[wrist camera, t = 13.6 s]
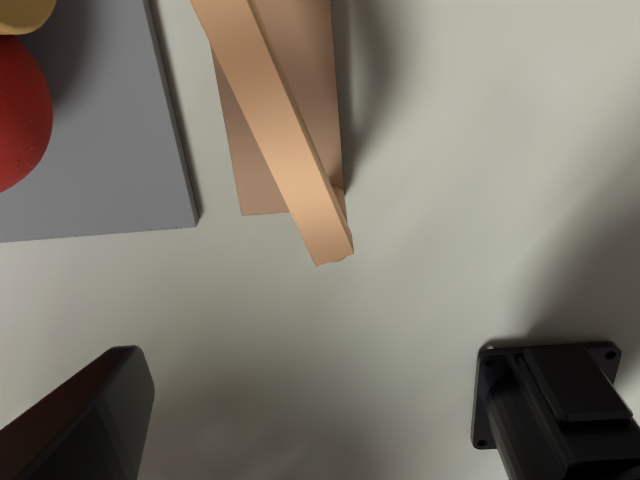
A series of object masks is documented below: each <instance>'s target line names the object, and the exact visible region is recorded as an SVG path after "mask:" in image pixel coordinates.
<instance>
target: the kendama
mask: <svg viewBox="0 0 640 480" xmlns="http://www.w3.org/2000/svg"><path fill="white" fill-rule="evenodd" d="M56 1H57V0H0V193H1V192H3V191H5V190H7V189H9V188H11V187H12V186H14V185H15V184H17V183H18V182H20V181H21V180H22V179H23V178H25V177H26V176H27V175H28V174H29V173H30V172H31V171H32V170H33V169H34V168H35V167H36V166H37V165H38V163H39V162H40V161H41V159H42V157H43V155H44V153H45V151H46V149H47V146H48V144H49V141H50V137H51V133H52V126H53V106H52V100H51V95H50V91H49V88H48V84H47V82H46V79H45V77H44V75H43V73H42V71H41V69H40V67H39V65H38V64H37V62H36V60H35V59H34V58H33V56H32V55H31V53H30V52H29V51H28V50H27V48H26V47H25V46H24V45H23V44H22V43H21V42H20V40H19V39H18V38H17V37H16V36H15V35H19V34H26V33H30V32H33V31H35V30H36V29H37V28H39V27H41V26H42V24H44V22H46V20H47V19H48V18H49V17H50V15H51V14H52V11H53V9H54V7H55V4H56Z"/></svg>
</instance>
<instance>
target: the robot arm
mask: <svg viewBox="0 0 640 480" xmlns="http://www.w3.org/2000/svg"><path fill="white" fill-rule="evenodd" d="M607 352H609V353H607ZM620 358H621V350H620V349H619V348H618V346H617V345H616V344H615V343H614V342H610V341H605V342H590V343H575V344H560V345H545V346H530V347H515V348H500V349H487V350H484V351H482V352H480V353H479V354H478V357H477V365H476V377H475V389H474V401H473V413H472V425H471V441H472V444H473V446H474V448H476V449H481V450H482V449H498V452H499V455H500V457H501V460H502V463H503V465H504V468H505V471H506V473H507V476H508V479H509V480H640V426H639V425H638V424H637V422H636V421H635V419H634V418H633V413H632V411H631V410H630V408H629V407H628V405H627V404H626V403H625V401H624V400H623V399H622V397H621V396H620V394H619V393H618V392H617V390H616V389H615V387H614V386H613V384H614V381H615V377H616V373H617V369H618V365H619V362H620ZM489 359H492V360H490V361H487V360H489ZM154 394H155V390H154V383H153V380H152V377H151V374H150V371H149V368H148V365H147V362H146V359H145V356H144V353H143V351H142V349H141V348H140V347H139V346H136V345H129V346H116V347H112V348H110V349H109V350H107V351H106V352H104V353H103V354H102V355H100V356H99V357H98V358H96V359H95V360H94V361H92V362H91V363H90V364H88V365H87V366H86V367H84V368H83V369H82V370H80V371H79V372H78V373H76V374H75V375H74V376H72V377H71V378H70V379H68V380H67V381H66V382H64V383H63V384H62V385H60V386H59V387H58V388H56V389H55V390H53V391H52V392H51V393H49V394H48V395H47V396H45V397H44V398H43V399H41V400H40V401H39V402H37V403H36V404H35V405H33V406H32V407H31V408H29V409H28V410H27V411H25V412H24V413H23V414H21V415H20V416H19V417H17V418H16V419H15V420H13V421H12V422H11V423H9V424H8V425H7V426H5V427H4V428H3V429H1V430H0V480H137V477H138V472H139V467H140V463H141V458H142V453H143V449H144V444H145V439H146V434H147V430H148V425H149V420H150V415H151V411H152V406H153V401H154Z"/></svg>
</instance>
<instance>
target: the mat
mask: <svg viewBox="0 0 640 480" xmlns="http://www.w3.org/2000/svg"><path fill="white" fill-rule="evenodd" d="M15 36H16V37H17V38H18V39H19V40H20V42H21V43H22V44H23V45H24V46H25V47H26V48H27V50H28V51H29V52H30V53H31V55H32V56H33V58H34V59H35V60H36V62H37V64H38V65H39V67H40V69H41V71H42V73H43V75H44V77H45V79H46V82H47V84H48V88H49V91H50V95H51V100H52V106H53V126H52V133H51V137H50V141H49V144H48V146H47V149H46V151H45V153H44V155H43V157H42V159H41V161H40V162H39V163H38V165H37V166H36V167H35V168H34V169H33V170H32V171H31V172H30V173H29V174H28V175H27V176H26V177H25V178H23V179H22V180H21V181H20V182H18V183H17V184H15V185H14V186H12V187H11V188H9V189H7V190H5V191H3V192H1V193H0V243H2V242H15V241H27V240H40V239H52V238H65V237H77V236H90V235H102V234H115V233H127V232H140V231H152V230H164V229H177V228H189V227H196V226H197V224H198V222H199V217H198V212H197V208H196V204H195V199H194V195H193V191H192V186H191V182H190V178H189V173H188V169H187V165H186V161H185V156H184V152H183V148H182V143H181V139H180V135H179V130H178V126H177V122H176V117H175V113H174V109H173V104H172V100H171V96H170V91H169V87H168V83H167V78H166V74H165V70H164V65H163V61H162V57H161V52H160V48H159V44H158V39H157V35H156V31H155V26H154V22H153V18H152V14H151V9H150V5H149V1H148V0H57V1H56V4H55V7H54V9H53V11H52V14H51V15H50V17H49V18H48V19H47V20H46V22H44V24H42V26H41V27H39V28H37V29H36V30H35V31H33V32H30V33H26V34H19V35H15Z"/></svg>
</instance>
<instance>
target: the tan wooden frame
mask: <svg viewBox="0 0 640 480" xmlns="http://www.w3.org/2000/svg"><path fill="white" fill-rule="evenodd" d="M190 1H191V4H192V6H193V8H194V10H195V12H196V14H197V16H198V18H199V21H200V23H201V25H202V27H203V29H204V31H205V33H206V35H207V37H208V40H209V42H210V46H211V51H212V57H213V62H214V68H215V73H216V78H217V84H218V89H219V95H220V100H221V106H222V111H223V116H224V122H225V127H226V133H227V138H228V144H229V149H230V154H231V160H232V165H233V171H234V176H235V182H236V187H237V192H238V198H239V203H240V209H241V214H242V216H248V215H260V214H272V213H285V212H290V213H291V215H292V217H293V219H294V221H295V223H296V226H297V228H298V230H299V232H300V234H301V236H302V238H303V240H304V242H305V245H306V247H307V249H308V251H309V253H310V255H311V257H312V259H313V261H314V264H315V266H319V265H322V264H325V263H328V262H338V261H341V260H343V259H344V258H345V257H346V256H348V255H351V254H354V249H353V241H352V234H351V232H350V229H349V227H348V224H347V215H346V206H345V196H344V183H343V169H342V155H341V141H340V127H339V113H338V99H337V85H336V72H335V58H334V44H333V30H332V16H331V2H330V0H190Z"/></svg>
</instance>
